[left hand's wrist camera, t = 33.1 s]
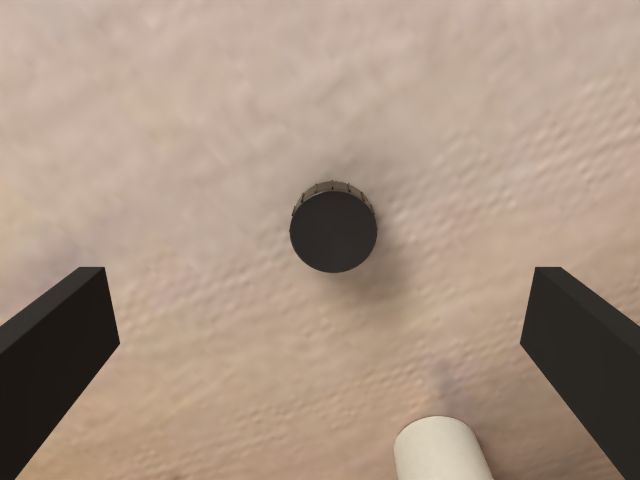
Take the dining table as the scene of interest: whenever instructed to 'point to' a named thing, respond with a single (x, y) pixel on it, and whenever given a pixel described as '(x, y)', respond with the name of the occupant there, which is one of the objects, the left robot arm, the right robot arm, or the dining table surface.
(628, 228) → the dining table surface
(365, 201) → the cap
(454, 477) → the bottle
